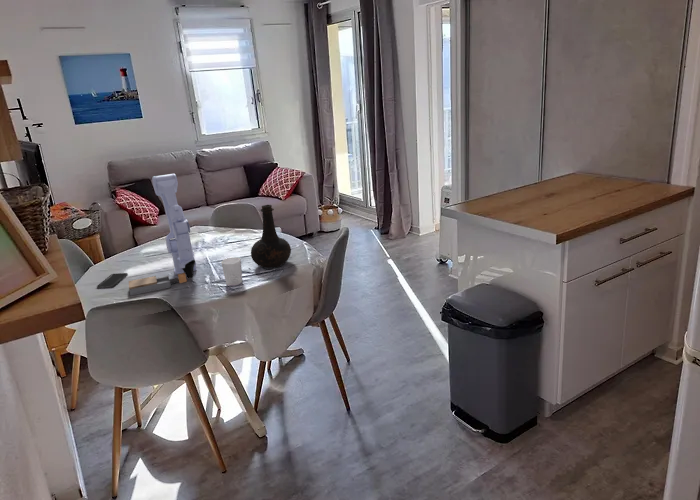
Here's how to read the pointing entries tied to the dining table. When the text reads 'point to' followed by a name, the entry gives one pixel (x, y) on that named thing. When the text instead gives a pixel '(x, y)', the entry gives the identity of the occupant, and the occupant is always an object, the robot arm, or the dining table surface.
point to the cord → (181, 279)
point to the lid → (142, 282)
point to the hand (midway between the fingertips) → (190, 277)
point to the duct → (152, 286)
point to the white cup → (232, 271)
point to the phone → (112, 280)
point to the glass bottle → (270, 244)
